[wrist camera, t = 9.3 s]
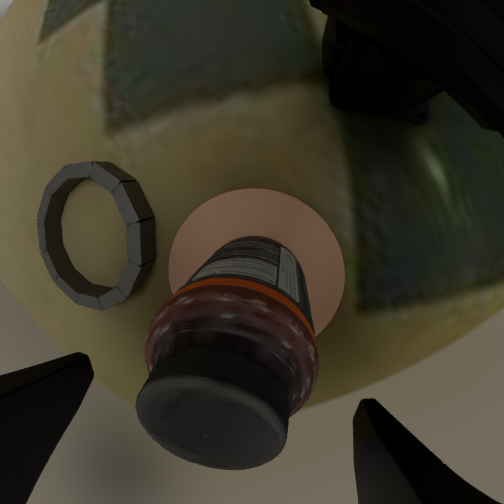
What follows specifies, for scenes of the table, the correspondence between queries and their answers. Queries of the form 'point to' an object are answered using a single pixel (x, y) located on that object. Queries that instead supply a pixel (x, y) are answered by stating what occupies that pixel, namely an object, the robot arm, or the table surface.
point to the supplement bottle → (231, 358)
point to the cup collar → (137, 228)
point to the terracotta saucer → (271, 226)
